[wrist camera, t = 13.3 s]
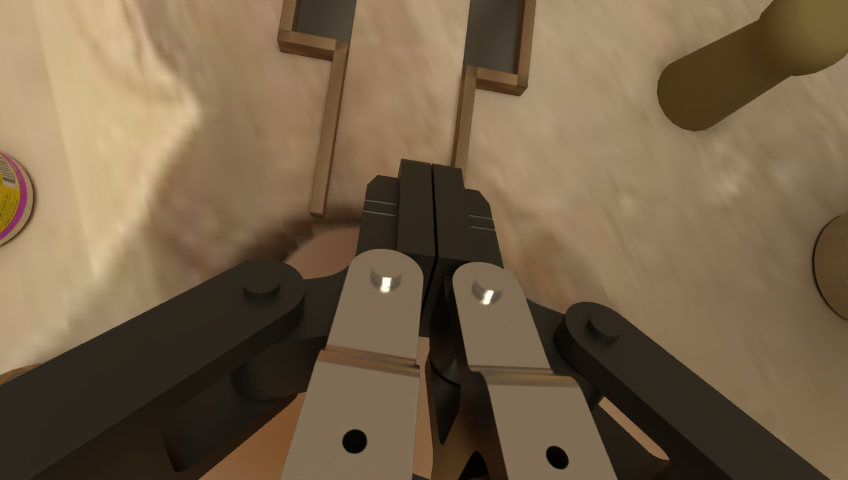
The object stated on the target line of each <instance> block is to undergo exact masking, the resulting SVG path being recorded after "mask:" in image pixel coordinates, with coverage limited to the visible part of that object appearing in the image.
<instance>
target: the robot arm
mask: <svg viewBox="0 0 848 480" xmlns="http://www.w3.org/2000/svg"><path fill="white" fill-rule="evenodd" d="M494 230H495V227H494V223H493V220H492V214H491V209H490V205H489V203H488V202H487V200H486V199H485V198H484V197H483V196H482V194H481V193H480V192H479V191H477V190H471V189H465V188H464V181H463V175H462V169H461V168H457V167H451V166H445V165H439V164H432V165H431V164H430V163H426V162H420V161H414V160H407V159H401V162H400V167H399V173H398V178H394V177H387V176H381V175H377V176H376V177H375V178H374V179H373V180H372V181H371V182H370V183H369V184H368V185H367V190H366V196H365V202H364V208H363V214H362V220H361V226H360V232H359V239H358V245H357V251H356V255H355V258H354V259H353V261H352V262H351V264H350V265H349V266H348V267H347V268H345V269H344V270H342V271H341V272H339V273H336V274H334V275H331V276H327V277H321V278H314V279H305V280H303V277H302V276H301V274H300V273H299V272H298V271H297V270H296V269H295V268H293V267H292V266H290V265H288V264H286V263H283V262H279V261H275V260H254V261H248V262H245V263H242V264H240V265H237V266H235V267H233V268H231V269H229V270H227V271H225V272H223V273H221V274H219V275H217V276H215V277H213V278H211V279H209V280H207V281H205V282H203V283H201V284H200V285H198V286H196V287H194V288H192V289H190V290H188V291H186V292H184V293H182V294H180V295H178V296H176V297H174V298H172V299H170V300H168V301H166V302H164V303H162V304H160V305H158V306H156V307H154V308H152V309H150V310H148V311H146V312H144V313H142V314H140V315H138V316H136V317H134V318H132V319H130V320H128V321H126V322H124V323H123V324H121V325H119V326H117V327H115V328H113V329H111V330H109V331H107V332H105V333H103V334H101V335H99V336H97V337H95V338H93V339H91V340H89V341H87V342H85V343H83V344H81V345H79V346H77V347H75V348H73V349H71V350H69V351H67V352H65V353H63V354H61V355H59V356H57V357H55V358H53V359H51V360H49V361H47V362H46V363H44V364H42V365H40V366H38V367H36V368H34V369H32V370H30V371H28V372H26V373H24V374H22V375H20V376H18V377H16V378H14V379H12V380H10V381H8V382H6V383H4V384H2V385H0V480H199V479H200V478H201V477H202V476H203V475H205V474H206V473H207V472H208V471H209V470H210V469H212V468H213V467H214V466H215V465H217V464H218V463H219V462H220V461H222V460H223V459H224V458H225V457H226V456H227V455H229V454H230V453H231V452H232V451H234V450H235V449H236V448H237V447H238V446H240V445H241V444H242V443H243V442H244V441H245V440H247V439H248V438H249V437H251V436H252V435H253V434H254V433H255V432H257V431H258V430H259V429H260V428H261V427H263V426H264V425H265V424H266V423H267V422H268V421H270V420H271V419H272V418H273V417H275V416H276V415H277V414H278V413H279V412H281V411H282V410H283V409H284V408H285V407H287V406H288V405H289V404H290V403H291V402H292V401H293V400H294V399H295V398H296V397H297V395H298V393H302V392H307V393H306V396H305V400H304V402H303V406H302V409H301V412H300V416H299V419H298V423H297V426H296V429H295V432H294V435H293V439H292V442H291V445H290V449H289V452H288V455H287V459H286V462H285V465H284V468H283V472H282V475H281V478H280V480H429V479H426V478H424V477H421V476H418V475H415V474H412V471H413V459H414V446H415V433H416V421H417V408H418V395H419V381H420V367H419V365H416V356H417V345H418V336H420V337H429V340H430V350H429V353H428V356H427V360H426V364H425V377H426V386H427V395H428V406H429V416H430V425H431V435H432V445H433V466H432V473H431V480H830V479H829V478H827V477H826V476H825V475H824V474H822V473H821V472H820V471H818V470H817V469H816V468H815V467H813V466H812V465H811V464H810V463H808V462H807V461H806V460H804V459H803V458H802V457H801V456H799V455H798V454H797V453H796V452H794V451H793V450H792V449H790V448H789V447H788V446H787V445H785V444H784V443H783V442H782V441H780V440H779V439H778V438H776V437H775V436H774V435H773V434H771V433H770V432H769V431H768V430H766V429H765V428H764V427H762V426H761V425H760V424H759V423H757V422H756V421H755V420H754V419H752V418H751V417H750V416H748V415H747V414H746V413H745V412H743V411H742V410H741V409H740V408H738V407H737V406H736V405H734V404H733V403H732V402H731V401H729V400H728V399H727V398H726V397H724V396H723V395H722V394H720V393H719V392H718V391H717V390H715V389H714V388H713V387H712V386H710V385H709V384H708V383H706V382H705V381H704V380H703V379H701V378H700V377H699V376H698V375H696V374H695V373H694V372H692V371H691V370H690V369H689V368H687V367H686V366H685V365H684V364H682V363H681V362H680V361H678V360H677V359H676V358H675V357H673V356H672V355H671V354H670V353H668V352H667V351H666V350H664V349H663V348H662V347H661V346H659V345H658V344H657V343H656V342H654V341H653V340H652V339H650V338H649V337H648V336H647V335H645V334H644V333H643V332H642V331H640V330H639V329H638V328H636V327H635V326H634V325H633V324H631V323H630V322H629V321H628V320H626V319H625V318H624V317H622V316H621V315H620V314H618V313H617V312H615V311H614V310H612V309H610V308H608V307H606V306H603V305H601V304H597V303H593V302H579V303H576V304H574V305H572V306H571V307H569V309H568V310H567V312H566V313H565V315H564V314H562V313H559V312H556V311H554V310H551V309H548V308H546V307H543V306H540V305H538V304H536V303H533V302H532V301H530V300H528V299H526V298H525V295H524V293H523V290H522V288H521V285H520V284H519V282H518V281H517V280H516V279H515V278H514V276H512V275H511V274H510V273H509V272H507V271H506V270H504V267H503V263H502V258H501V254H500V249H499V245H498V240H497V236H496V232H495V231H494ZM814 265H815V275H816V279H817V283H818V286H819V288H820V290H821V292H822V295H823V297H824V298H825V299H826V301H827V302H828V304H829V305H830V306H831V307H832V308H833V309H834V310H835V311H836V312H837V313H838V314H839V315H840V316H842V317H843V318H845V319H847V320H848V214H845V215H842V216H839V217H838V218H836V219H834V220H833V221H831V222H830V224H829V225H828V226H827V227H826V228H825V229H824V231H823V232H822V234H821V236H820V237H819V240H818V243H817V246H816V249H815V258H814ZM604 396H605V397H606V398H607V399H608V400H609V401H611V402H612V403H613V404H614V405H615V406H616V407H617V408H618V409H619V410H620V411H621V412H622V413H624V414H625V415H626V416H627V417H628V418H629V419H630V420H631V421H632V422H633V423H634V424H635V425H636V426H638V427H639V428H640V429H641V430H642V431H643V432H644V433H645V434H646V435H647V436H648V437H650V438H651V439H652V440H653V441H654V442H655V443H656V444H657V445H658V446H660V448H661V449H663V451H664V452H665V453H666V454H667V456H668V457H669V459H670V460H663V459H660V458H657V457H655V456H653V455H652V454H651V453H649V452H648V451H647V450H646V449H645V448H644V447H643V446H642V445H641V444H640V443H639V442H638V441H636V440H635V439H634V438H633V437H632V436H631V435H630V434H629V433H628V432H627V431H626V430H625V429H624V428H623V427H622V426H620V425H619V424H618V423H617V422H616V421H615V420H614V419H613V418H612V417H611V416H610V415H609V414H608V413H607V412H606V411H605V410H603V408H601V407H600V406H599V405H598V404H599V403H600V401H601V400H602V399H603V398H604Z"/></svg>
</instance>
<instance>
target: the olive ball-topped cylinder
mask: <svg viewBox="0 0 848 480" xmlns="http://www.w3.org/2000/svg"><path fill="white" fill-rule="evenodd" d="M847 53H848V0H774V1H773V2H772V3H771V4H770V5H769V6H768V7H767V8H766V9H765V10H764V11H763V12H762V13H761V16H760V18H759V20H757V21H755V22H753V23H751V24H749V25H747V26H745V27H743V28H741V29H739V30H737V31H735V32H733V33H731V34H729V35H727V36H725V37H723V38H721V39H719V40H717V41H715V42H713V43H711V44H709V45H707V46H705V47H703V48H701V49H699V50H697V51H695V52H693V53H691V54H689V55H687V56H685V57H683V58H681V59H679V60H677V61H675V62H673V63H671V64H669V65H668V66H667V68H666V69H665V70H664V71H663V72H662V74H661V76H660V79H659V81H658V90H657V93H658V98H659V103H660V105H661V107H662V109H663V111H664V113H665V115H666V116H667V117H668V118H669V119H670V120H671V121H672V122H673V123H674V124H676V125H678V126H679V127H681V128H683V129H687V130H691V131H699V130H705V129H707V128H709V127H711V126H713V125H715V124H716V123H718V122H719V121H721V120H722V119H724V118H726V117H727V116H729V115H730V114H732V113H733V112H735V111H736V110H738V109H740V108H741V107H743V106H744V105H746V104H747V103H749V102H751V101H752V100H754V99H755V98H757V97H758V96H760V95H761V94H763V93H765V92H766V91H768V90H769V89H771V88H772V87H774V86H776V85H777V84H779V83H780V82H782V81H783V80H785V79H787V78H788V77H790V76H800V75H808V74H812V73H816V72H818V71H821V70H823V69H825V68H827V67H829V66H831V65H833V64H835V63H837V62H838V61H839V60H841V59H842V58H843V57H845V55H846V54H847Z"/></svg>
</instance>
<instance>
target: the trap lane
mask: <svg viewBox="0 0 848 480" xmlns="http://www.w3.org/2000/svg"><path fill="white" fill-rule="evenodd" d="M355 6H356V0H284V2H283V8H282V14H281V20H280V26H279V32H278V38H277V41H278V44H279V47H280V50H281V51H282V52H287V53H292V54H298V55H303V56H308V57H314V58H319V59H324V60H330V61H333V63H332V70H331V76H330V83H329V89H328V96H327V102H326V109H325V115H324V122H323V128H322V135H321V141H320V148H319V154H318V161H317V168H316V174H315V181H314V187H313V194H312V200H311V207H310V213H311V215H313V216H320V217H324V213H325V206H326V200H327V193H328V186H329V180H330V173H331V166H332V160H333V153H334V146H335V140H336V133H337V126H338V119H339V113H340V106H341V99H342V93H343V86H344V79H345V73H346V66H347V59H348V53H349V46H350V39H351V33H352V26H353V19H354V13H355ZM535 7H536V0H471V3H470V11H469V20H468V28H467V37H466V45H465V54H464V62H463V71H462V79H461V88H460V96H459V104H458V113H457V121H456V130H455V138H454V147H453V155H452V164H451V167H457V168H461V169H462V175H463V181H464V183H465V175H466V166H467V157H468V148H469V139H470V131H471V122H472V113H473V104H474V96H475V88H479V89H485V90H490V91H496V92H501V93H506V94H512V95H517V96H521V94H522V93H523V92H524V91H525V90H526V89H527V87H528V77H529V67H530V57H531V47H532V37H533V27H534V17H535Z"/></svg>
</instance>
